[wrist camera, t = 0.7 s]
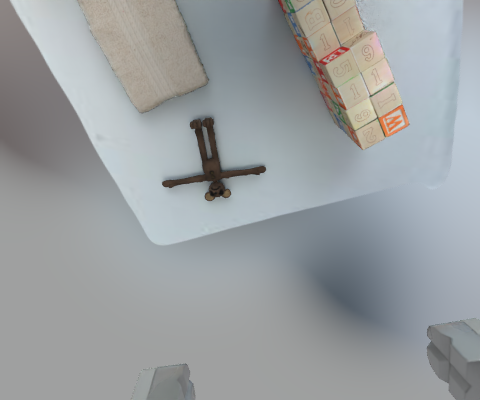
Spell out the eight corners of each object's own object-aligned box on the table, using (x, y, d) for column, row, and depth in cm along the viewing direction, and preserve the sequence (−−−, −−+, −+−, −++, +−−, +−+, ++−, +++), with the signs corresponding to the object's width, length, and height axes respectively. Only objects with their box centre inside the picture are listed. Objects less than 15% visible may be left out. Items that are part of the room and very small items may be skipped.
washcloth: (152, -62, 38) (146, -68, 35) (212, 81, 46) (211, 85, 44) (71, -18, 40) (59, -21, 37) (143, 111, 48) (138, 117, 46)
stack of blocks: (270, -10, 41) (285, -21, 30) (313, -42, 39) (345, -65, 29) (335, 124, 50) (363, 152, 40) (371, 103, 49) (411, 126, 38)
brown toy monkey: (259, 112, 46) (270, 199, 52) (257, 107, 50) (268, 189, 56) (142, 130, 47) (166, 214, 53) (149, 125, 51) (170, 203, 57)
